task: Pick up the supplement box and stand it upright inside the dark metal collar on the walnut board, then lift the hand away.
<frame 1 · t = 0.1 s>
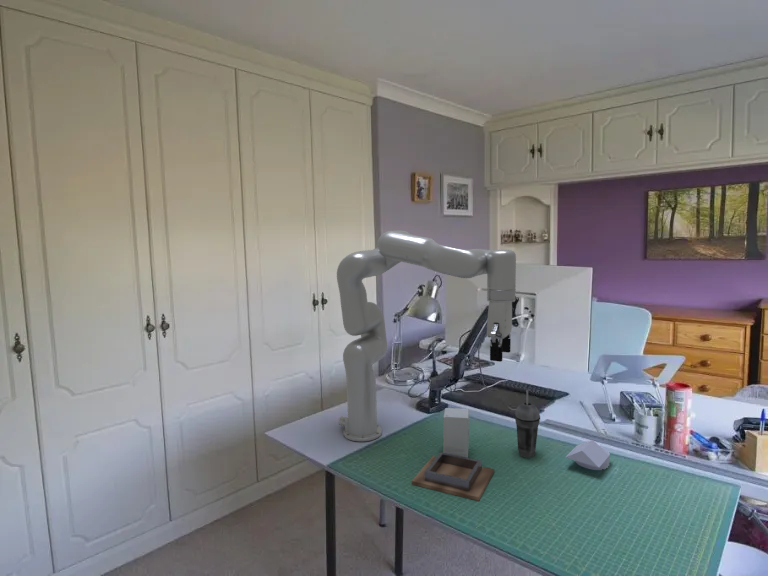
hand: (500, 356, 133), 31 cm above the table, tool pointing down, fingers open, 9 cm apart
collar board: (453, 478, 128), on the table
supplement box: (456, 453, 143), on the table
beverage cup: (526, 454, 141), on the table
grey faceted rock: (589, 465, 134), on the table
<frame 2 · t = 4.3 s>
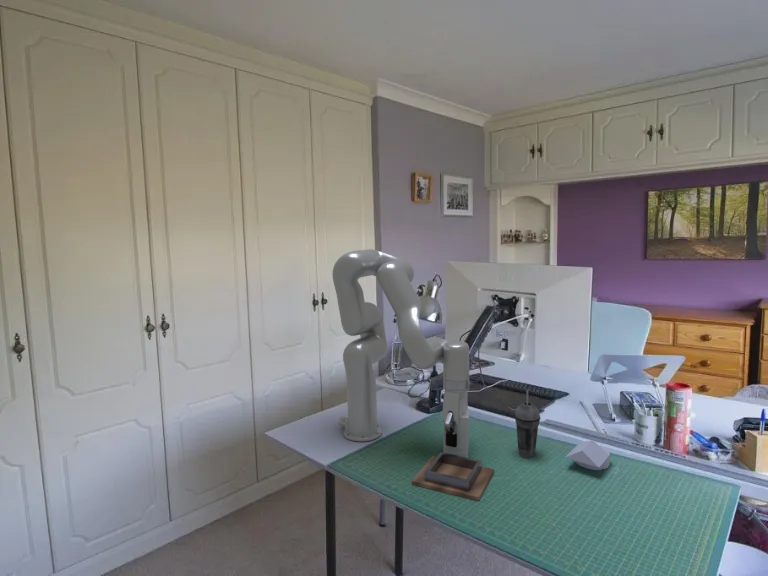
hand: (456, 439, 142), 4 cm above the table, tool pointing down, fingers closed on supplement box, 8 cm apart
supplement box: (456, 453, 143), on the table, touching gripper
everything else where it was.
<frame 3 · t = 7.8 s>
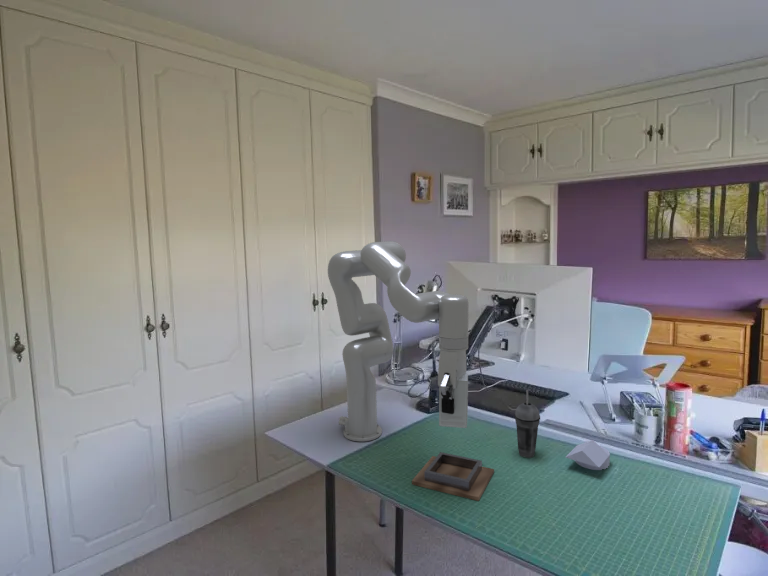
hand: (453, 406, 126), 20 cm above the table, tool pointing down, fingers closed on supplement box, 8 cm apart
supplement box: (453, 422, 127), point 16 cm above the table, touching gripper
everything else where it was.
when the fingers open (6 cm above the table, at t = 11.4 s): supplement box drops 1 cm, resting on collar board.
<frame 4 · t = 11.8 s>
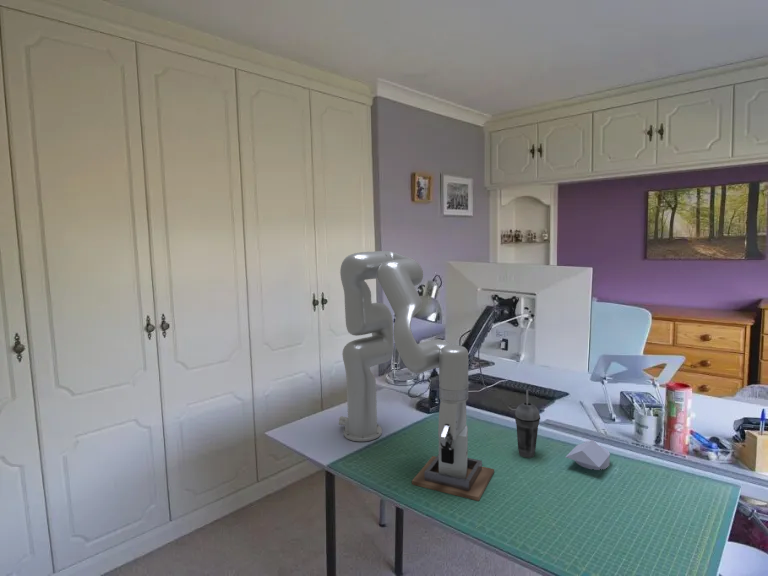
hand: (453, 454, 127), 7 cm above the table, tool pointing down, fingers open, 9 cm apart
supplement box: (453, 474, 129), point 1 cm above the table, touching collar board
everything else where it was.
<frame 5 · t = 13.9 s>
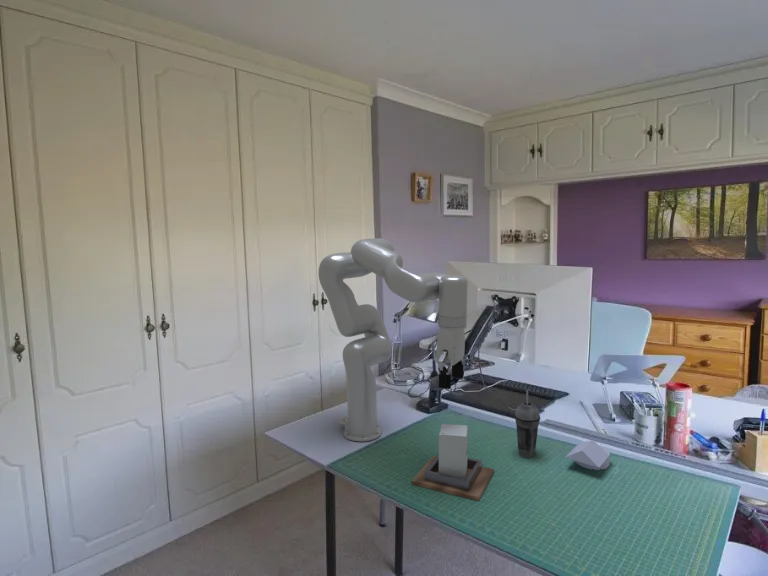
hand: (451, 382, 131), 25 cm above the table, tool pointing down, fingers open, 9 cm apart
nothing on the table moved.
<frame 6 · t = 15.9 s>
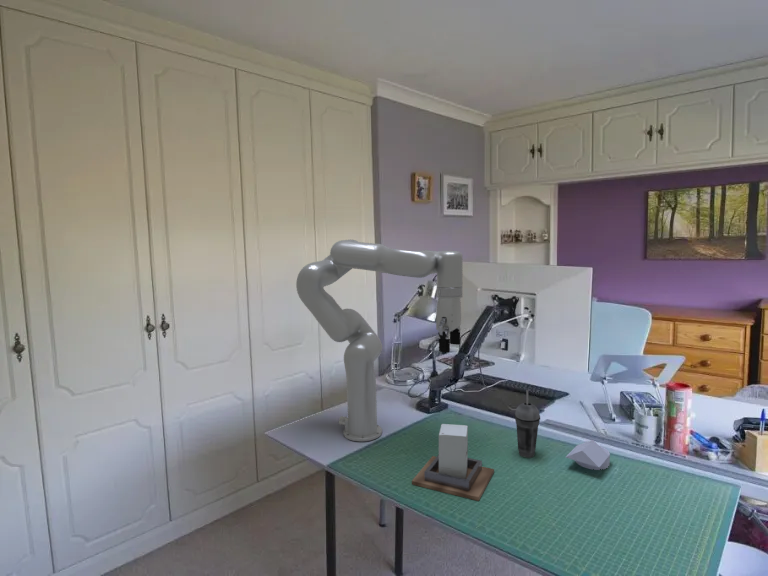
hand: (449, 347, 146), 30 cm above the table, tool pointing down, fingers open, 9 cm apart
nothing on the table moved.
at the end: supplement box 0.4 cm off-centre on the collar board, point 0.8 cm above the collar board's base; supplement box tilted 0°; the gripper is holding nothing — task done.
